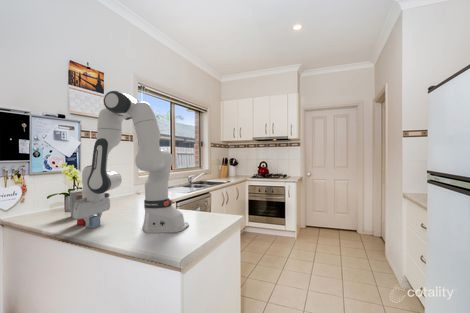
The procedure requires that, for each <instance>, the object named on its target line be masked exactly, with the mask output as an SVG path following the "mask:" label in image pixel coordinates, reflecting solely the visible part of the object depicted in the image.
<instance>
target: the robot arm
mask: <svg viewBox="0 0 470 313" xmlns="http://www.w3.org/2000/svg"><path fill="white" fill-rule="evenodd" d="M103 105H104V107H105V108H102V109H101V110H100V111H99V113H98V118H97V124H96V126H97V127H96V129H97V130H96V140H95V143H94V146H93V152H92V160H91V165H87V166H84V167H83V169H82V173H81V184H82V189H81V190H82V199H79V200H77V201H76V202H75V204H74V210H73V218H72V219H74V220H77V219H82V218H83V219H84V220H85V222H86V225H90V224H91V221H89V216H92V215H94V216H100V218H101V217H102V215H103V212H107V211H109V210H110V209H111V199H110V196H111V195H110V193H109V191H111V190H114V189H117V188H118V187H119V186H120V185H121V184H122V176H121V174H120V173H119V172H118V171H115V170H111V169H108V158H109V153H111V151H112V150H113V149H114V148H116V147H118V145H119V144H121V140H122V135H123V133H122V125H123V124H122V123H123V121H124V120H125V121H129V120H132V122H133V126H134V129H135V133H136V137H137V138H136V139H137V144H138V146H137V147H138V148H137V154H136V156H135V159H134V161H135V162H134V163H135V165H136V168H138V169H139V170H140V171H142V172H147V173H148V177H147V179H146V181H145V182H144V200H143V202H144V203H143V206H144V217H143V224H142V227H141V228H142V231H144V233H145V234H156V233H157V234H160V233H161V234H162V233H164V234H167V233H173V234H174V233H179V232H181V231H184V230H186V229H187V228H188V227H189V222H188V221H185V218H184V215H183V213H182V212H181V211H180V210H178V209H177V208H176V207H175V206H174V205H173V204H172V203H173V202H174V199H170V198H169V179H170V174H171V168H172V165H173V164H174V156H173V155H172V153H171V152H169V151H167V150H165V149H161V148H160V147H161V146H160V139H161V137H162V136H161V135H162V134H161V132H160V128H159V124H158V121H157V118H156V115H155V112H154V110H153V107H152V106H151V104H150V103H148V102H146V101H139V100H138V99H137V98H134V97H133V96H131V95H129V94H127V93H124V92H121V91H118V90H111V91H108V92H106V94H105V95H104V97H103ZM86 225H85V226H86ZM187 226H188V227H187ZM186 227H187V228H186Z"/></svg>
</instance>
